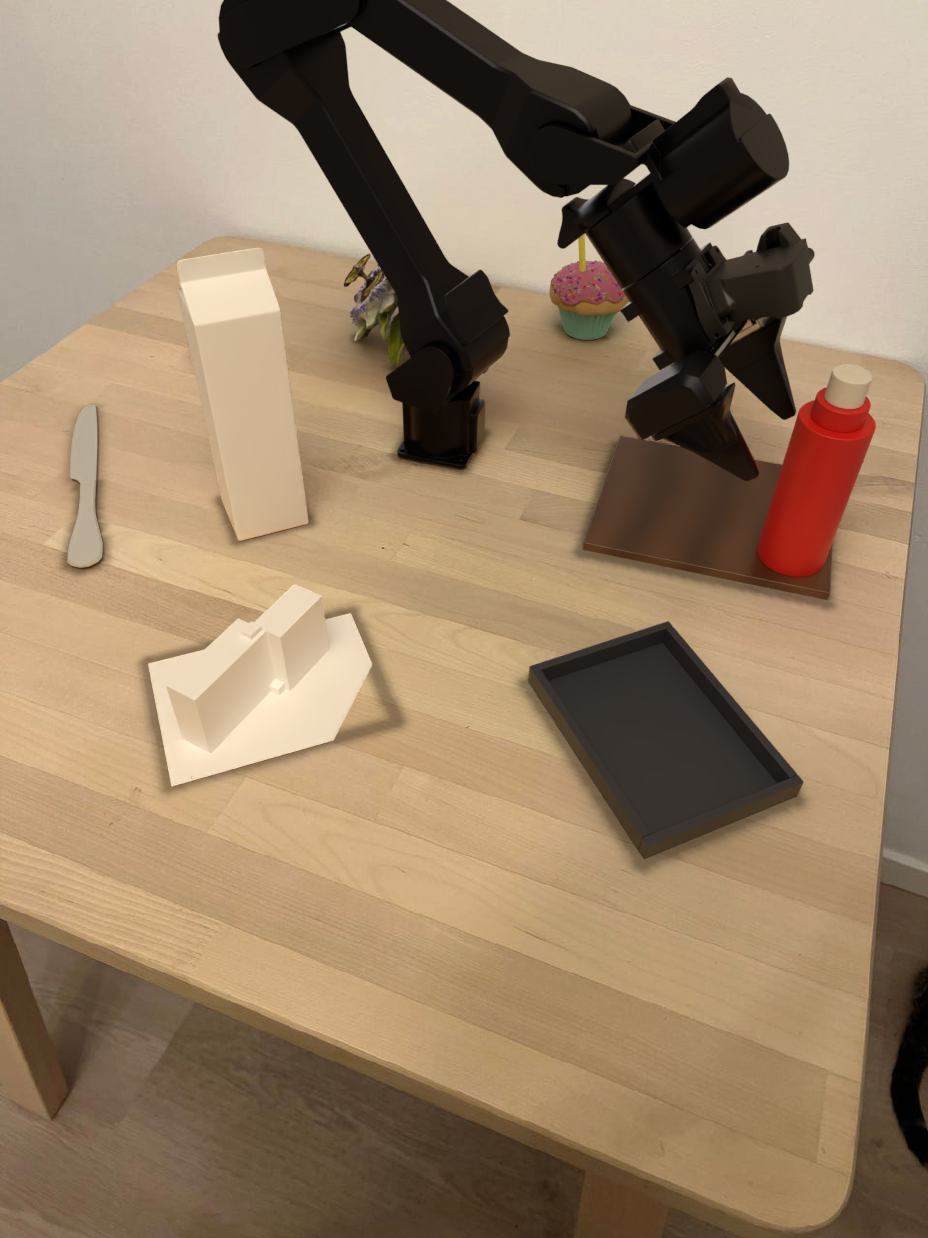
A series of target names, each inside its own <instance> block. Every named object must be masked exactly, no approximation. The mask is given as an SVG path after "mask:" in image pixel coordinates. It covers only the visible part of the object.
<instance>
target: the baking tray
mask: <svg viewBox="0 0 928 1238" xmlns="http://www.w3.org/2000/svg"><path fill="white" fill-rule="evenodd" d="M527 682H528V684H529V685H530V687H531V689H532V690H533V691H534V693H535V694H536V696H537V697H538V699H539V700H540V702H541V704H542V705H543V707H544V708H545V711H546V712H547V713H548V715H549V716H550V718H551V719H552V721H553V722H554V724H555V725H556V727H557V728H558V730H559V731H560V733H561V734H562V736H563V738H564V739H565V740H566V742H567V744H568V746H569V747H570V748H571V750H572V751H573V753H574V755H575V756H576V757H577V759H578V761H579V762H580V764H581V765H582V767H583V768H584V770H585V771H586V773H587V774H588V776H589V778H590V779H591V781H592V782H593V784H594V785H595V787H596V788H597V790H598V791H599V793H600V794H601V796H602V797H603V799H604V801H605V802H606V804H607V805H608V806H609V808H610V810H611V811H612V813H613V814H614V816H615V817H616V819H617V821H618V822H619V824H620V825H621V827H622V828H623V829H624V831H625V833H626V834H627V836H628V838H629V839H630V840H631V842H632V844H633V845H634V847H635V848H636V850H637V851H638V853H639V854H640V856H641V857H642V859H643V860H646V859H648V858H651V857H653V856H655V855H658V854H661V853H663V852H666V851H668V850H670V849H672V848H675V847H677V846H680V845H682V844H684V843H687V842H690V841H693V840H694V839H697V838H699V837H702V836H704V835H706V834H709V833H711V832H714V831H717V830H719V829H721V828H724V827H726V826H728V825H731V824H733V823H736V822H738V821H741V820H743V819H746V818H748V817H750V816H753V815H756V814H758V813H761V812H763V811H766V810H768V809H770V808H772V807H775V806H777V805H780V804H782V803H785V802H787V801H790V800H792V799H794V798H797V797H798V795H799V793H800V791H801V789H802V787H803V785H804V780H803V779H802V778H801V776H800V775H799V774H798V773H797V772H796V771H795V769H794V768H793V767H792V766H791V764H790V763H789V762H788V761H787V760H786V758H785V757H784V756H783V755H782V754H781V752H779V750H778V749H777V748H776V747H775V746H774V745H773V743H772V742H771V740H769V738H768V737H767V736H766V735H765V733H763V731H762V730H761V728H759V726H758V725H757V724H756V723H755V721H754V720H752V718H751V717H750V716H749V715H748V714H747V712H746V711H745V710H744V709H743V708H742V706H741V705H740V704H739V703H738V702H737V700H735V698H734V697H733V695H731V694H730V692H729V691H728V690H727V688H726V687H725V686H724V685H723V684H722V683H721V682H720V680H719V679H718V677H716V675H714V673H713V672H712V671H711V670H710V669H709V667H708V666H707V665H706V664H705V662H704V661H703V660H702V659H701V658H700V656H699V655H698V654H697V653H696V652H695V651H694V649H693V648H692V647H691V646H690V645H689V644H688V642H687V641H686V640H685V639H684V638H683V636H682V635H681V634H680V633H679V632H678V630H677V629H676V628H675V627H674V625H673V624H672V623H671V622H670V621H668V620H667V621H663V622H661V623H658V624H655V625H651V626H649V627H646V628H642V629H640V630H636V631H633V632H631V633H627V634H624V635H621V636H618V637H615V638H612V639H609V640H606V641H602V642H600V643H597V644H593V645H590V646H588V647H585V648H581V649H579V650H575V651H572V652H568V653H565V654H563V655H560V656H557V657H553V658H550V659H547V660H543V661H541V662H538V663H535V664H532V665H530V666H529V667H528V678H527Z"/></svg>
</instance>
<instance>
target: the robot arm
mask: <svg viewBox="0 0 928 1238" xmlns="http://www.w3.org/2000/svg"><path fill="white" fill-rule="evenodd" d="M350 28H352V29H354V30H355V31H356V32H358V33H359V34H361V35H362V36H364V37H365V38H366V39H368V40H369V41H370V42H372V43H373V44H375V45H376V46H378V47H379V48H381V49H382V50H383V51H385V52H386V53H388V54H389V55H391V56H392V57H393V58H394V59H396V60H397V61H399V62H400V63H402V64H403V65H404V66H406V67H407V68H409V69H411V70H412V71H413V72H415V73H416V74H418V75H419V76H420V77H422V78H423V79H424V80H426V81H428V82H429V83H430V84H431V85H433V86H435V87H436V88H437V89H439V90H440V91H442V92H443V93H445V94H446V95H447V96H449V97H450V98H451V99H453V100H455V102H457V103H458V104H460V105H462V106H463V107H464V108H466V109H467V110H469V111H470V112H472V113H473V114H474V115H476V116H477V117H478V118H479V119H480V120H482V122H483V123H484V124H485V125H486V126H487V127H488V128H489V129H490V130H491V131H492V133H493V135H494V137H495V139H496V141H497V143H498V145H499V147H500V149H501V151H502V152H503V155H504V156H505V157H506V159H508V160H509V161H510V162H511V163H512V164H513V165H514V166H515V167H516V168H517V169H518V170H519V171H520V172H521V173H522V174H523V175H524V176H525V177H526V178H527V179H528V180H529V182H531V183H532V184H533V185H534V186H535V187H536V188H537V189H538V190H540V191H541V192H542V193H544V194H546V195H549V196H550V197H553V198H559V199H562V198H564V197H566V198H567V197H571V196H574V195H579V194H580V193H582V192H584V190H586V189H587V188H588V187H590V186H604V187H603V188H601V190H599V191H598V192H597V193H596V194H594V195H593V196H591V198H589V199H588V198H587V199H586V198H582V197H580V196H575V197H574V198H572V199H571V200H569V201H567V202H566V203H565V204H564V205H562V206H561V225H560V228H559V232H558V236H557V242H556V244H557V246H558V248H559V249H562V250H563V249H567V248H568V247H569V246H570V245H572V244H573V243H574V242H576V241H577V240H578V238H580V237H581V236H582V235H583V234H585V237H587V239H588V241H589V242H590V243H591V245H592V247H593V248H594V249H595V251H596V253H597V254H598V256H599V258H600V259H601V261H602V262H603V263H605V265H606V266H607V268H608V269H609V271H610V272H611V274H612V275H613V277H614V279H615V280H616V282H617V283H618V285H619V286H620V288H621V289H622V291H623V292H624V294H625V295H626V297H627V299H628V300H629V302H628V303H627V304H626V305H625V306H624V307H623V308H622V309H621V310H620V311H619V312H620V313H621V314H622V315H623V317H624V318H625V320H626V321H627V323H629V322H631V321H632V320H634V319H636V318H637V317H639V319H640V320H641V322H642V323H643V325H644V326H645V328H646V329H647V331H648V332H649V334H650V335H651V337H652V339H653V340H654V342H655V344H656V345H657V346H658V348H659V351H658V352H656V354H655V355H654V356H653V357H652V361H653V363H654V364H655V365H656V367H657V369H658V370H659V371H657V372H656V373H654V374H652V375H651V376H650V375H649V376H648V377H646V378H645V380H644V381H643V382H642V383H641V384H640V385H639V387H638V388H637V389H636V390H635V391H634V393H633V394H632V395H631V396H630V397H629V398H628V399H627V401H626V407H625V413H624V419H625V420H626V422H627V423H628V425H629V426H630V428H631V429H632V430H633V432H634V434H635V435H636V436H637V439H640V440H647V439H648V438H649V437H651V438H652V440H654V442H659V441H660V440H665V441H668V442H670V443H672V444H673V445H676V446H681V447H683V448H685V449H687V450H689V451H691V452H693V453H695V454H697V455H699V456H701V457H703V458H705V459H706V460H708V461H710V462H712V463H714V464H715V465H717V466H719V467H721V468H722V469H724V470H726V471H728V472H730V473H731V474H733V475H735V476H737V477H738V478H740V479H742V480H744V481H750V480H752V479H755V478H757V477H758V475H759V470H758V468H757V465H756V463H755V461H754V460H755V458H754V456H753V454H752V452H751V450H750V448H749V446H748V443H747V441H746V440H745V438H744V436H743V434H742V432H741V430H740V427H739V426H738V424H737V422H736V420H735V418H734V416H733V414H732V411H731V406H732V402H733V398H734V394H735V391H736V390H735V388H736V382H735V381H734V382H732V383H730V384H728V379H727V373H726V370H727V372H729V373H730V374H731V375H732V376H733V377H734V378H735V379H736V380H737V381H738V382H739V383H740V384H741V385H742V386H744V387H745V388H746V389H747V390H748V391H749V392H751V394H752V395H753V396H755V397H756V399H758V400H759V401H760V402H761V403H762V404H763V405H764V406H766V408H768V409H769V410H770V411H771V412H772V413H773V414H775V415H776V416H777V417H778V418H780V419H781V420H783V421H786V420H789V419H791V418H793V417H795V416H796V414H797V408H796V404H795V399H794V397H793V396H794V395H793V392H792V388H791V384H790V380H789V377H788V372H787V368H786V363H785V359H784V353H783V349H782V345H781V336H782V335H783V334H782V333H783V330H784V328H785V325H786V321H787V318H788V317H790V316H792V315H795V314H797V313H798V312H800V311H801V310H802V308H803V307H804V303H805V300H806V299H807V297H808V296H809V295H812V294H813V292H814V285H813V277H812V272H811V267H810V264H811V262H812V261H813V260H814V259H815V251H814V249H813V248H811V247H809V246H808V241H807V238H806V237H805V238H801V236H800V235H799V234H798V233H797V232H796V230H795V229H794V228H793V226H792V224H790V222H783V223H778V224H775V225H770V226H768V227H767V228H766V229H765V230H764V231H763V232H762V234H760V237H759V239H758V243H757V246H756V250H755V251H754V250H753V249H749V250H746V251H745V253H744V254H742V255H740V256H736V257H731V258H729V259H728V258H726V257H725V255H724V254H723V252H722V251H721V249H720V248H719V246H717V244H716V245H712V242H708V243H707V244H705V245H704V246H702V247H701V248H700V246H699V245H698V243H697V241H696V240H695V238H694V237H693V235H692V233H691V232H690V230H689V229H688V228H689V227H690V226H693V227H695V228H697V229H698V230H699V229H701V230H709V229H710V228H712V227H714V226H716V225H717V224H718V223H720V222H721V221H723V220H724V219H725V218H727V217H729V216H730V215H732V214H733V213H735V212H736V211H738V210H739V209H741V207H743V206H745V205H747V204H748V203H749V202H751V201H752V200H754V199H756V198H757V197H758V196H760V195H761V194H763V193H765V192H766V191H767V190H769V189H770V188H772V187H773V186H775V185H776V184H778V183H779V182H781V181H782V180H783V179H785V178H786V177H787V176H788V173H789V171H790V157H789V156H790V155H789V151H788V146H787V144H786V141H785V138H784V136H783V132H782V131H781V129H780V127H779V125H778V123H777V121H776V119H775V118H774V117H773V115H772V113H768V114H767V113H766V111H765V110H764V108H763V107H762V106H761V105H760V104H759V103H758V102H757V101H756V100H755V99H753V98H752V96H749V95H747V94H745V93H743V92H741V91H740V90H739V88H738V86H737V84H736V82H735V81H734V79H733V77H728V76H727V77H725V78H724V79H723V80H721V81H720V82H719V83H717V84H715V86H713V87H712V88H711V89H710V90H708V91H706V93H705V94H704V95H702V97H701V98H699V100H697V102H696V104H695V105H694V106H693V108H691V109H690V110H689V111H688V112H686V113H685V114H684V115H683V116H681V117H680V118H679V119H678V120H677V121H675V120H672V119H670V118H667V117H664V116H661V115H659V114H656V113H653V112H651V111H648V110H646V109H643V108H640V107H638V106H634V105H633V104H630V102H629V100H628V98H627V97H626V95H625V94H624V93H623V92H622V91H621V90H620V89H619V88H618V87H616V86H615V85H614V84H612V83H609V82H607V81H605V80H602V79H600V78H598V77H596V76H594V75H591V74H589V73H587V72H585V71H583V70H579V69H578V68H575V67H573V66H569V65H564V64H559V63H556V62H550V61H546V60H542V59H538V58H535V57H534V56H531V55H528V54H526V53H524V52H523V51H521V50H519V49H518V48H516V47H515V46H513V45H512V44H511V43H509V42H508V41H506V40H505V39H503V38H502V37H501V36H500V35H498V34H496V33H495V32H493V31H491V30H490V29H489V28H488V27H486V26H485V25H483V24H482V23H480V22H479V21H477V20H476V19H474V18H473V17H472V16H470V15H469V14H467V13H466V12H464V11H463V10H462V9H460V8H459V7H457V6H456V5H455V4H453V3H452V2H450V1H449V0H223V1H222V2H221V4H220V7H219V14H218V30H219V32H218V33H217V34H216V35H217V41H218V44H219V46H220V49H221V51H222V54H223V56H224V57H225V59H226V62H227V63H228V64H229V66H230V67H231V68H232V70H233V71H234V72H235V74H236V75H237V76H238V77H239V78H240V80H241V81H242V82H243V84H244V85H245V86H246V88H247V89H248V90H249V91H250V92H251V94H252V95H253V97H255V99H256V100H257V101H258V102H260V103H261V104H262V105H264V106H266V107H267V108H268V109H270V110H271V111H272V112H274V113H276V114H277V115H279V116H280V117H281V118H283V119H284V120H286V122H288V123H290V124H291V125H292V126H294V128H295V130H297V131H298V133H299V135H300V136H301V138H302V140H303V141H304V143H305V145H306V146H307V148H308V150H309V152H310V153H311V155H312V157H313V158H314V160H315V161H316V163H317V165H318V167H319V169H320V170H321V171H322V173H323V175H324V176H325V179H326V180H327V182H328V183H329V185H330V186H331V188H332V190H333V192H334V193H335V195H336V197H337V198H338V200H339V202H340V203H341V206H343V208H344V210H345V212H346V213H347V215H348V217H349V219H350V220H351V222H352V224H353V225H354V227H355V228H356V230H357V233H358V234H359V235H360V237H361V238H362V240H363V242H364V244H365V246H366V247H367V249H368V250H369V252H370V254H371V255H372V257H373V259H374V260H375V262H376V264H377V265H379V267H380V269H381V270H382V272H383V274H384V275H385V277H386V279H387V280H388V282H389V284H390V285H391V287H392V289H393V290H394V292H395V294H396V297H397V301H398V307H397V310H398V313H399V323H400V334H401V338H402V341H403V343H404V345H405V347H406V349H405V351H406V352H407V354H408V356H409V358H408V359H406V360H404V361H403V363H402V362H401V363H402V364H401V365H400V366H399V367H396V368H395V369H394V370H392V371H391V372H390V373H388V374H387V375H386V376H385V380H386V384H387V387H388V389H389V392H390V395H391V398H392V399H393V400H394V401H395V402H399V403H401V405H402V407H401V408H402V410H401V411H402V433H403V440H402V441H401V443H400V445H399V446H398V448H397V450H396V455H397V457H398V458H400V459H406V460H411V461H416V462H421V463H427V464H431V465H437V466H441V467H442V466H443V467H447V468H452V469H457V470H464V469H466V468H467V466H468V465H469V463H470V461H471V459H472V457H473V455H475V454H476V453H478V451H479V449H480V448H481V445H482V444H483V442H484V439H485V428H486V427H485V425H486V423H485V422H486V401H485V400H484V399H483V398H480V397H481V391H480V390H481V382H480V381H479V380H478V378H480V376H482V375H483V374H485V373H487V372H488V371H489V368H491V367H492V366H493V365H494V364H495V363H497V362H498V361H499V360H500V359H501V358H502V357H503V356H504V355H505V353H506V351H507V349H508V344H509V338H510V336H511V331H510V325H509V324H508V321H507V319H506V317H505V316H506V315H507V314H508V313H509V309H508V308H507V307H506V306H505V305H504V304H503V303H502V302H501V301H500V299H499V298H498V297H497V295H496V293H495V291H494V289H493V286H492V283H491V281H490V279H489V276H488V275H487V274H486V273H485V272H484V270H482V269H478V270H476V271H475V272H473V274H471V275H470V276H469V275H467V274H466V273H465V272H463V271H462V270H460V269H458V268H457V267H456V266H454V265H453V264H452V263H451V262H450V261H449V260H448V259H447V257H446V255H445V254H444V252H443V250H442V249H441V247H440V245H439V243H438V241H437V240H436V238H435V237H434V234H433V233H432V231H431V229H430V228H429V226H428V224H427V222H426V221H425V219H424V217H423V215H422V213H421V212H420V210H419V208H418V207H417V205H416V203H415V200H413V198H412V196H411V194H410V193H409V191H408V189H407V187H406V185H405V184H404V182H403V180H402V179H401V176H400V175H399V173H398V172H397V169H396V168H395V166H394V165H393V163H392V161H391V159H390V158H389V156H388V153H386V150H385V149H384V147H383V145H382V144H381V141H380V140H379V138H378V137H377V134H376V133H375V131H374V129H373V127H372V126H371V124H370V123H369V121H368V119H367V117H366V115H365V114H364V112H363V110H362V108H361V106H360V105H359V103H358V101H357V99H356V97H355V95H354V94H353V91H352V89H351V86H350V77H349V76H350V75H349V67H348V66H349V65H348V54H347V47H346V42H345V39H344V37H343V35H342V32H344V31H346V30H348V29H350ZM642 165H644V166H645V167H646V169H647V170H648V172H649V173H648V174H647V175H645V176H644V177H642V179H640V180H639V181H638V182H634V181H632V180H630V179H627V178H626V177H628V176H629V175H630V174H631V173H633V172H634V171H635V170H637V169H638V168H639V167H641V166H642ZM674 362H675V363H674ZM672 363H673V364H672Z"/></svg>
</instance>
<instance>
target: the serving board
mask: <svg viewBox="0 0 928 1238" xmlns="http://www.w3.org/2000/svg"><path fill="white" fill-rule="evenodd" d="M754 461H755V463H756V465H757V468H758V470H759V475H758V477H757V478H755V479H752V480H750V481H744V480H742V479H740V478H738V477H737V476H735V475H733V474H731V473H730V472H728V471H726V470H724V469H722V468H721V467H719V466H717V465H715V464H714V463H712V462H710V461H708V460H706V459H705V458H703V457H701V456H699V455H697V454H695V453H693V452H691V451H689V450H687V449H685V448H683V447H681V446H678V445H676V444H670V443H665V442H659V441H655V440H654V441H653V440H648V439H644V440H640V439H639V438H638V437H637V438H636V437H630V436H625V435H619V436H618V440H617V442H616V446H615V448H614V452H613V455H612V457H611V461H610V463H609V466H608V469H607V472H606V475H605V478H604V481H603V483H602V487H601V490H600V493H599V496H598V499H597V502H596V505H595V507H594V511H593V513H592V516H591V519H590V523H589V526H588V528H587V531H586V535H585V536H584V540H583V544H582V551H586V552H590V553H591V552H592V553H595V554H600V555H606V556H611V557H616V558H620V559H626V560H629V561H635V562H639V563H644V564H649V565H654V566H660V567H663V568H669V569H674V570H679V571H683V572H688V573H692V574H693V573H694V574H698V575H703V576H707V577H712V578H718V579H722V580H727V581H732V582H737V583H740V584H741V583H742V584H746V585H751V586H755V587H762V588H766V589H769V590H776V591H780V592H785V593H789V594H795V595H800V596H805V597H810V598H814V599H819V600H824V601H828V600H829V597H830V596H831V586H832V585H831V581H832V559H833V544H832V545H831V548H830V550H829V553H828V555H827V558H826V561H825V563H824V566H823V568H822V569H821V570H820V571H819V572H817V573H816V574H814V575H811V576H806V577H791V576H786V575H783V574H780V573H777V572H775V571H773V570H771V569H770V568H768V567H767V566H766V565H764V563H763V562H762V561H761V560H760V558H759V557H758V554H757V545H758V542H759V539H760V536H761V532H762V529H763V526H764V523H765V519H766V516H767V513H768V510H769V506H770V503H771V500H772V497H773V493H774V490H775V487H776V484H777V480H778V477H779V474H780V471H781V467H782V464H783V463H776V462H771V461H765V460H760V459H759V460H758V459H754Z"/></svg>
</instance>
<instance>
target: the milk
mask: <svg viewBox="0 0 928 1238" xmlns="http://www.w3.org/2000/svg"><path fill="white" fill-rule="evenodd" d="M265 257H266V256H265V251H264V250H263V249H262V248H261V247H253V248H246V249H241V250H240V249H239V250H235V251H227V252H226V251H225V252H220V253H214V254H209V255H202V256H196V257H189V258H184V259H179V260H178V261H177V263H176V270H177V276H178V281H179V284H178V285H177V287H176V293H177V297H178V298H177V299H178V302H179V307H180V311H181V316H182V321H183V325H184V330H185V334H186V340H187V345H188V350H189V354H190V357H191V363H192V368H193V372H194V377H195V381H196V386H197V391H198V395H199V396H198V397H199V401H200V405H201V411H202V415H203V418H204V425H205V428H206V434H207V438H208V443H209V448H210V453H211V457H212V461H213V467H214V472H215V476H216V480H217V486H218V490H219V494H220V499H221V502H222V505H223V507H224V509H225V512H226V514H227V517H228V519H229V522H230V523H231V527H232V530H233V531H234V534H235V537H236V540H237V541H238V542H242V541H245V540H249V539H254V538H258V537H261V536H266V535H269V534H273V533H278V532H282V531H285V530H289V529H293V528H297V527H301V526H305V525H308V524H310V523H309V513H308V507H307V506H308V505H307V498H306V492H305V484H304V477H303V470H302V469H303V468H302V461H301V454H300V447H299V439H298V432H297V425H296V417H295V410H294V409H295V407H294V403H293V402H294V401H293V395H292V388H291V386H292V385H291V378H290V371H289V363H288V355H287V349H286V340H285V333H284V326H283V319H282V312H281V307H280V303H279V301H278V298H277V295H276V293H275V289H274V287H273V284H272V281H271V279H270V275H269V273H268V270H267V265H266V258H265Z"/></svg>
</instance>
